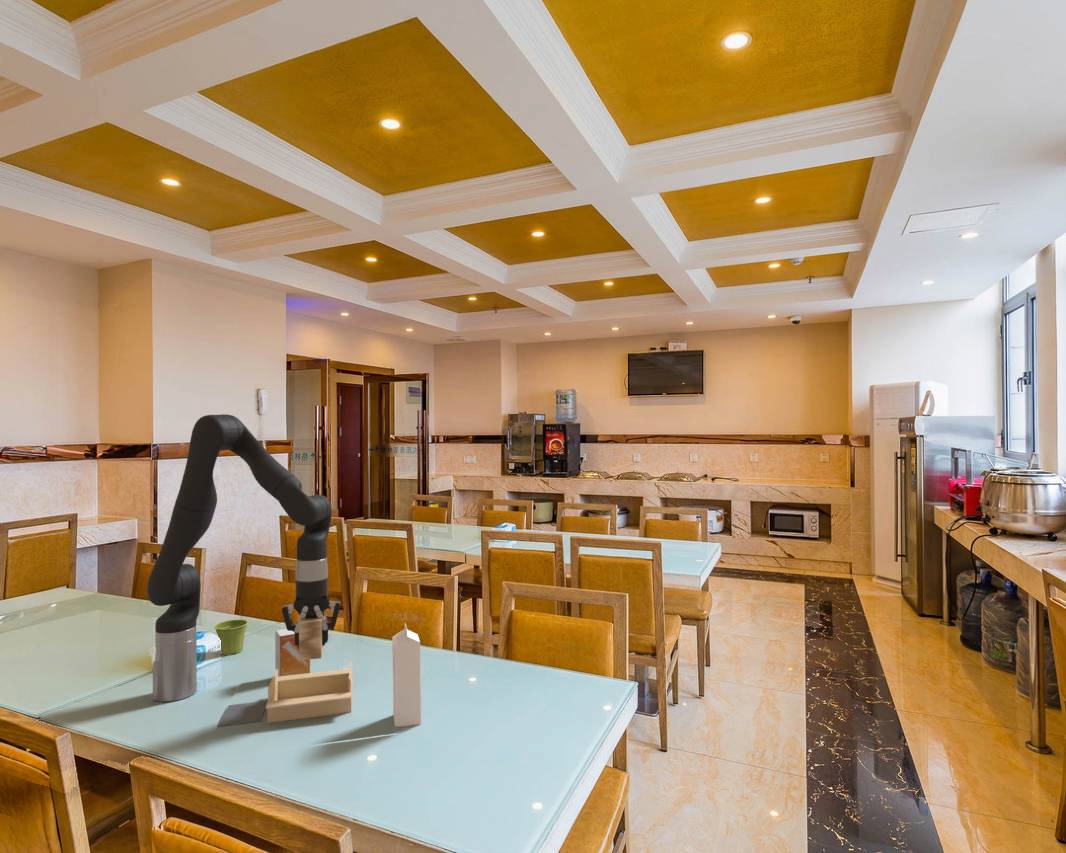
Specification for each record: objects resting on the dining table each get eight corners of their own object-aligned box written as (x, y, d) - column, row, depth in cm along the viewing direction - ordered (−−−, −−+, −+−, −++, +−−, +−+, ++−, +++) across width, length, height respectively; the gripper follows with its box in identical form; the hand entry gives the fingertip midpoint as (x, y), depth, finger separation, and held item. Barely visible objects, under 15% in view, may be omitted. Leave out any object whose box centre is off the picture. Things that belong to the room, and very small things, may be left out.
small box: (279, 684, 162) (279, 636, 163) (275, 677, 168) (274, 630, 168) (310, 677, 167) (310, 630, 167) (305, 670, 172) (305, 624, 172)
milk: (394, 728, 137) (393, 631, 138) (393, 716, 143) (391, 623, 143) (421, 724, 139) (420, 628, 139) (419, 712, 145) (417, 620, 145)
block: (298, 660, 145) (299, 622, 145) (302, 648, 152) (302, 613, 152) (321, 658, 146) (321, 620, 146) (323, 646, 154) (323, 611, 154)
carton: (265, 729, 138) (265, 694, 138) (277, 696, 155) (277, 664, 155) (350, 718, 143) (350, 684, 143) (353, 687, 160) (352, 657, 160)
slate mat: (218, 728, 138) (218, 725, 138) (228, 707, 149) (228, 705, 149) (260, 723, 141) (260, 720, 141) (268, 703, 151) (268, 700, 151)
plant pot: (238, 657, 183) (238, 628, 183) (208, 657, 183) (208, 628, 183) (253, 646, 193) (253, 619, 193) (224, 646, 193) (224, 619, 193)
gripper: (278, 582, 144) (278, 653, 144) (341, 578, 148) (341, 648, 147) (282, 575, 151) (282, 643, 151) (342, 571, 155) (342, 637, 155)
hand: (311, 645), depth 149 cm, fingers closed on block, 5 cm apart
